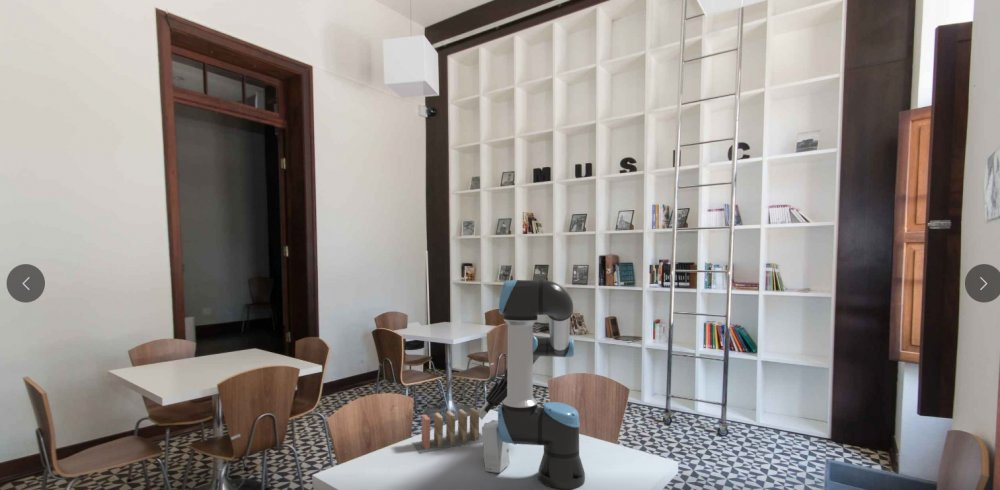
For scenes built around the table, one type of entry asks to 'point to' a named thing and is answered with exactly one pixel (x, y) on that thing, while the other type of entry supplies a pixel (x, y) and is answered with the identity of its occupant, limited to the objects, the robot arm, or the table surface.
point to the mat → (446, 444)
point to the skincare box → (494, 448)
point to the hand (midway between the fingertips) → (479, 417)
